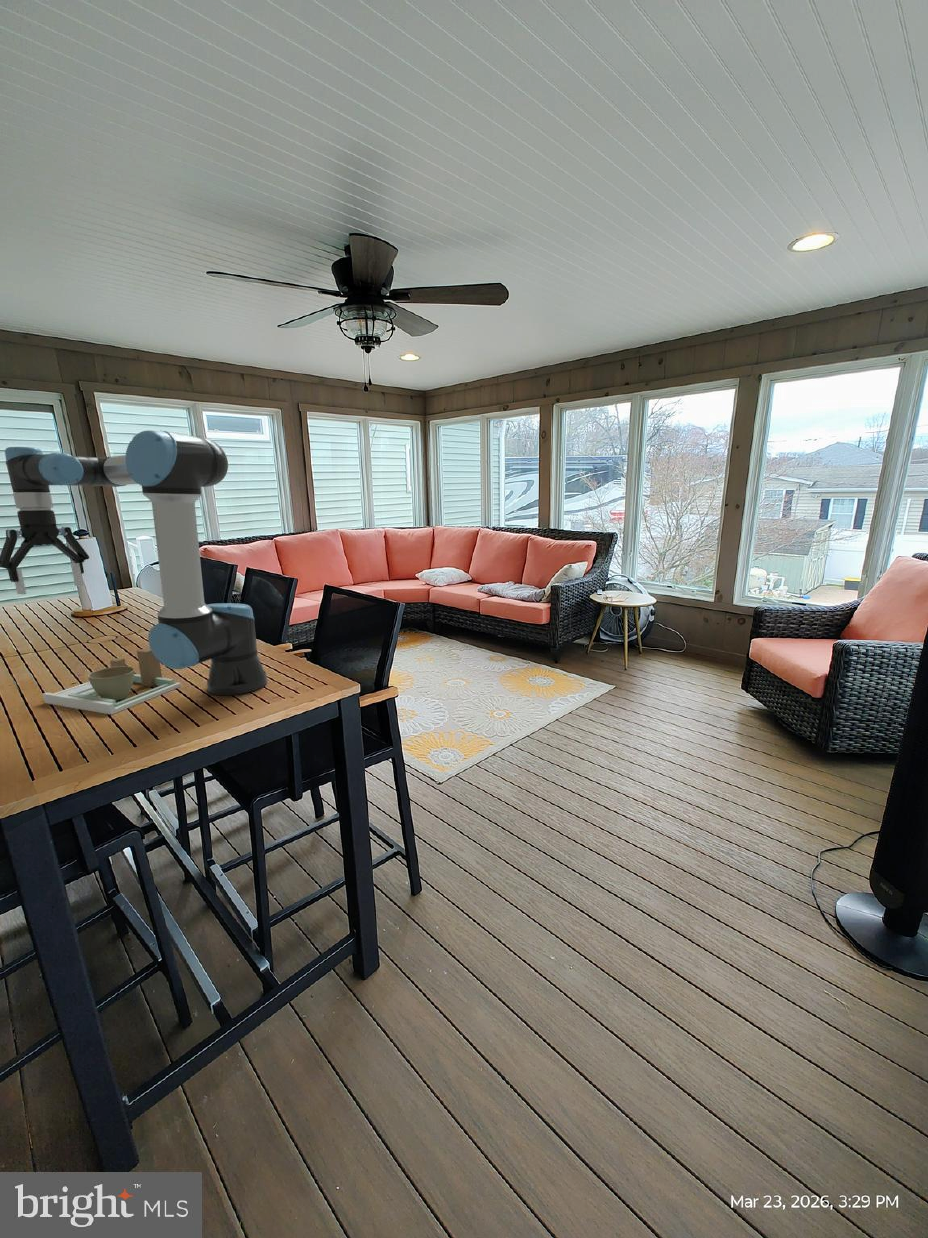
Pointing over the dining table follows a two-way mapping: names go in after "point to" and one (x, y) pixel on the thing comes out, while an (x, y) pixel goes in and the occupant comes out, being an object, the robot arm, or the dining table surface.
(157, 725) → the dining table surface
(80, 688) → the pale long handled piece
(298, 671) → the dining table surface
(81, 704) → the frame
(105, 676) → the olive green bowl
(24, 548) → the robot arm
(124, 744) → the dining table surface
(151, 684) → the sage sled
